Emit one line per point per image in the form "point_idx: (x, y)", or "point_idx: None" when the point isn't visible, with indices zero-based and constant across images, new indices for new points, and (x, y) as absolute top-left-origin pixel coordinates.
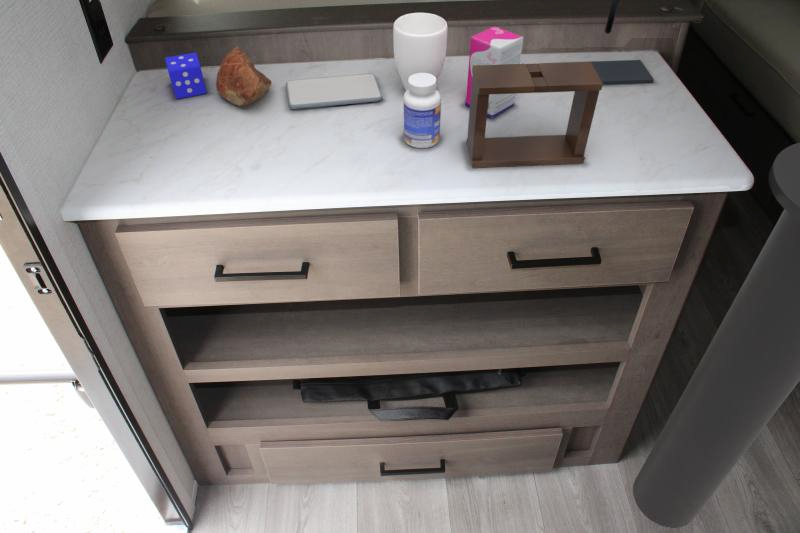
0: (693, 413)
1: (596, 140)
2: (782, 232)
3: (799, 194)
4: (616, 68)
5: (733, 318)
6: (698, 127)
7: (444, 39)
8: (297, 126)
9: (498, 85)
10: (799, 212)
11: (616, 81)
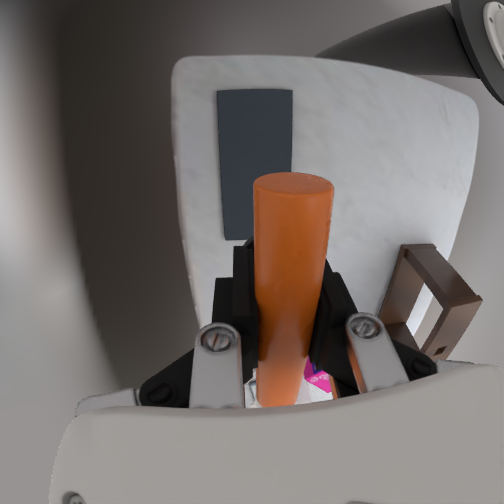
0: None
1: (409, 221)
2: (471, 74)
3: None
4: (249, 140)
5: (412, 72)
6: (411, 88)
7: (302, 398)
8: (313, 401)
9: None
10: None
11: (291, 152)
